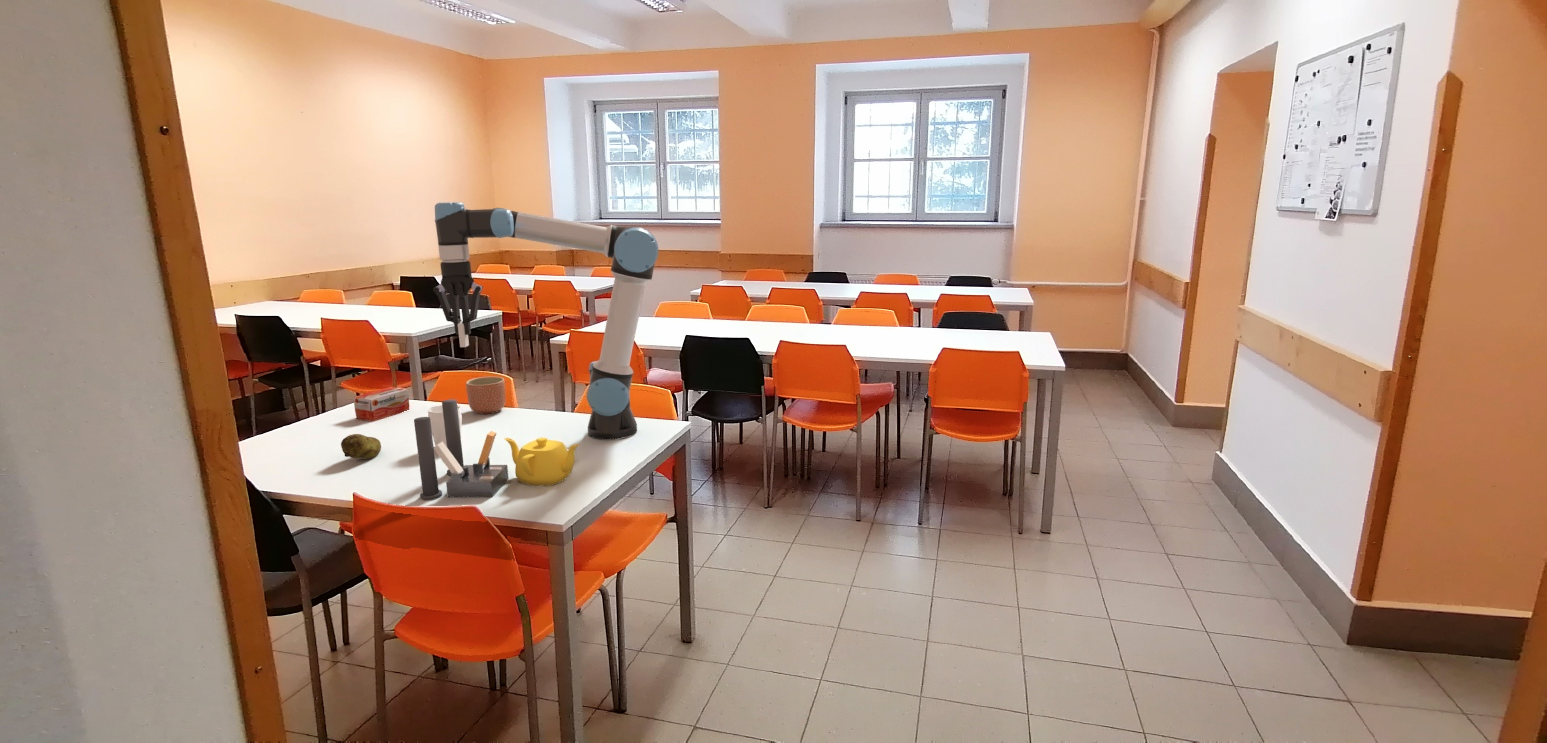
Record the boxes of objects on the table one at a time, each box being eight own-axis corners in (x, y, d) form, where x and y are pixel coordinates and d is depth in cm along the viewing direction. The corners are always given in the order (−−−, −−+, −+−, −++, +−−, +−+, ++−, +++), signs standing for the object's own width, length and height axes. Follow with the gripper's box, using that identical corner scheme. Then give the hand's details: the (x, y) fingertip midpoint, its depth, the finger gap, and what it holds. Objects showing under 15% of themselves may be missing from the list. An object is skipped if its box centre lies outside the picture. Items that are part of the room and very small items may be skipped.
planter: (461, 415, 255) (458, 384, 252) (481, 405, 267) (478, 375, 264) (495, 417, 253) (492, 385, 250) (513, 407, 265) (511, 377, 262)
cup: (452, 453, 218) (448, 413, 215) (425, 451, 219) (420, 412, 217) (471, 443, 226) (467, 405, 224) (444, 441, 228) (439, 403, 225)
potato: (394, 453, 218) (391, 426, 217) (355, 467, 207) (351, 440, 205) (373, 449, 222) (370, 423, 220) (334, 464, 210) (329, 436, 208)
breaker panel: (508, 479, 198) (506, 456, 196) (492, 497, 186) (489, 473, 185) (466, 479, 198) (464, 457, 196) (447, 497, 186) (445, 473, 185)
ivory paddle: (466, 473, 189) (443, 440, 187) (461, 478, 186) (437, 444, 184) (461, 476, 189) (437, 443, 187) (456, 481, 186) (432, 448, 184)
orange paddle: (486, 466, 195) (497, 432, 193) (481, 471, 192) (492, 436, 190) (480, 464, 195) (491, 430, 193) (475, 469, 192) (486, 434, 190)
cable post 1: (445, 492, 189) (436, 415, 185) (437, 499, 185) (427, 421, 180) (425, 492, 189) (416, 416, 185) (416, 500, 185) (406, 422, 180)
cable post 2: (470, 469, 205) (462, 398, 200) (462, 476, 200) (454, 403, 195) (451, 469, 205) (443, 398, 200) (444, 476, 200) (435, 403, 195)
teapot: (487, 486, 193) (483, 446, 190) (521, 465, 207) (518, 428, 205) (564, 494, 187) (561, 453, 185) (594, 472, 202) (591, 434, 199)
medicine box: (372, 422, 249) (369, 399, 247) (355, 419, 252) (352, 396, 250) (411, 410, 262) (408, 388, 260) (394, 408, 265) (391, 386, 263)
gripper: (484, 259, 207) (492, 343, 213) (436, 259, 207) (446, 344, 212) (474, 261, 200) (483, 348, 205) (424, 262, 200) (435, 349, 205)
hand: (464, 346), depth 209 cm, fingers closed
